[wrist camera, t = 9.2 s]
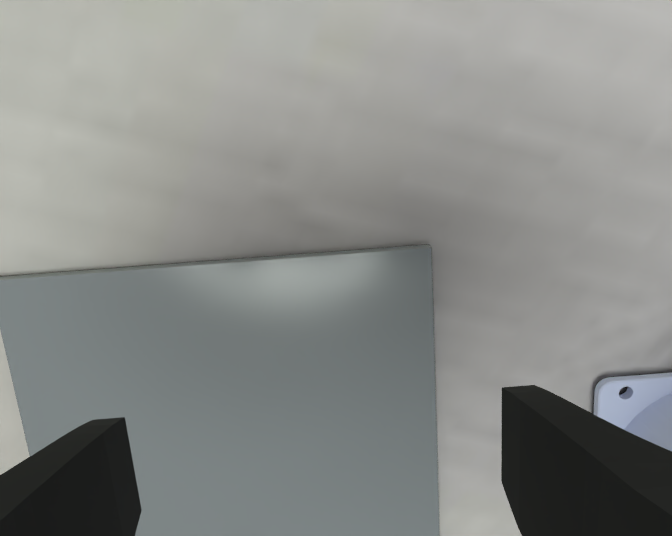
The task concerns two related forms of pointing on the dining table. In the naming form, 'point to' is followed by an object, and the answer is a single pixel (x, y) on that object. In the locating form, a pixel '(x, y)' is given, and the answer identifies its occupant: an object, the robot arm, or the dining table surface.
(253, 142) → the dining table surface
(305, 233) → the dining table surface
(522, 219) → the dining table surface
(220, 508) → the slate board
